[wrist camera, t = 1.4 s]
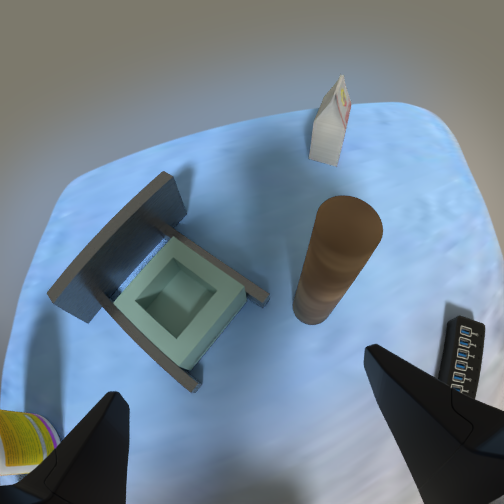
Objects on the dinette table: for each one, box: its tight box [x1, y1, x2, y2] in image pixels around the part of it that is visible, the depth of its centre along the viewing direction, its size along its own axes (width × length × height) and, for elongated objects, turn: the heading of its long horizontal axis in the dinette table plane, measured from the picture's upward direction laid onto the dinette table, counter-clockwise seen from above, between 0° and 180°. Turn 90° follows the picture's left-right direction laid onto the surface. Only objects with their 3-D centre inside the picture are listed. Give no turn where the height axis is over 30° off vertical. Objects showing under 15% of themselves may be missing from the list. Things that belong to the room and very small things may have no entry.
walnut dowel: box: [293, 196, 383, 325], centre depth 19 cm, size 4×4×13 cm
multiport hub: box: [438, 316, 485, 399], centre depth 18 cm, size 4×14×2 cm, turn 158°
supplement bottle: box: [0, 410, 60, 476], centre depth 12 cm, size 7×7×13 cm
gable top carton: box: [309, 75, 351, 167], centre depth 30 cm, size 4×7×10 cm, turn 159°
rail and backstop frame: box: [47, 171, 270, 393], centre depth 23 cm, size 14×16×6 cm
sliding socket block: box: [113, 236, 247, 371], centre depth 23 cm, size 8×8×4 cm
